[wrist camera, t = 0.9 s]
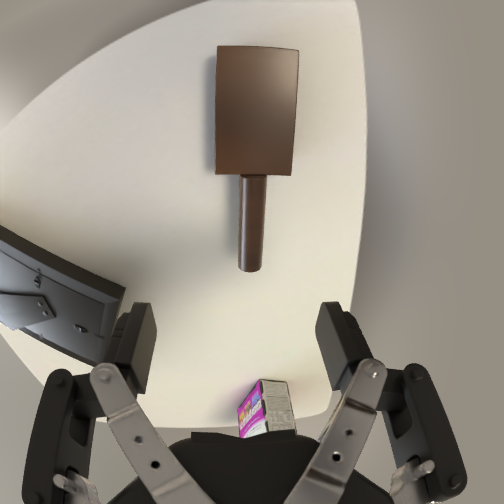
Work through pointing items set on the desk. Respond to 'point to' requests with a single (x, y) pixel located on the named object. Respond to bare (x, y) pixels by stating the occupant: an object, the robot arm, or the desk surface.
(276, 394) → the candy bar box
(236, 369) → the desk surface
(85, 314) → the picture frame
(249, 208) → the brush
